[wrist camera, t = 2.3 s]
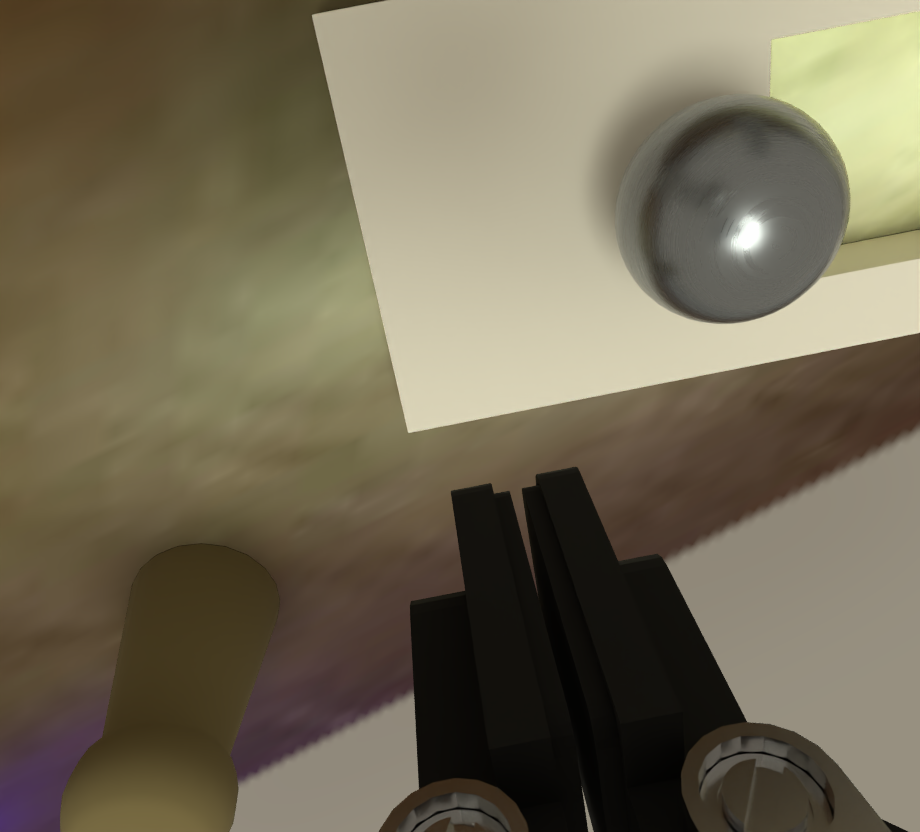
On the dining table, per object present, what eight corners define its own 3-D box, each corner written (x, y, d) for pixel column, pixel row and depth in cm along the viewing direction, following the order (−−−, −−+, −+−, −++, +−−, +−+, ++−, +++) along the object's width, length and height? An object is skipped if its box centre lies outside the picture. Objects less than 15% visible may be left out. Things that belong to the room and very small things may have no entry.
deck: (317, 13, 23) (311, 14, 21) (1050, -127, 23) (1122, -140, 21) (405, 399, 29) (408, 433, 27) (981, 287, 29) (1030, 310, 27)
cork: (298, 564, 32) (267, 807, 23) (257, 667, 35) (214, 926, 25) (148, 527, 31) (45, 772, 21) (117, 637, 33) (12, 901, 23)
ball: (583, 104, 22) (648, 137, 17) (787, 64, 22) (914, 86, 17) (599, 299, 25) (659, 379, 20) (780, 264, 25) (888, 334, 20)
